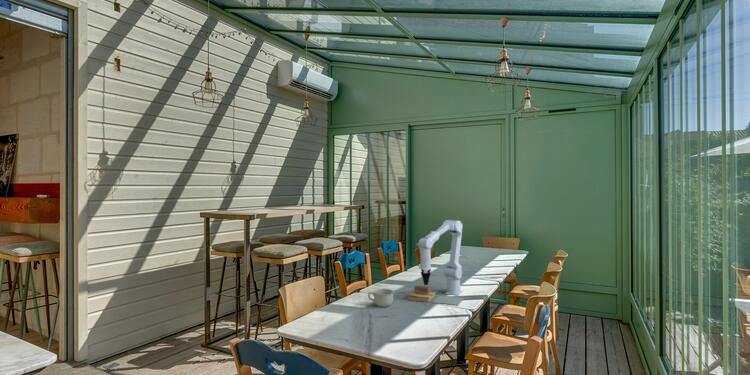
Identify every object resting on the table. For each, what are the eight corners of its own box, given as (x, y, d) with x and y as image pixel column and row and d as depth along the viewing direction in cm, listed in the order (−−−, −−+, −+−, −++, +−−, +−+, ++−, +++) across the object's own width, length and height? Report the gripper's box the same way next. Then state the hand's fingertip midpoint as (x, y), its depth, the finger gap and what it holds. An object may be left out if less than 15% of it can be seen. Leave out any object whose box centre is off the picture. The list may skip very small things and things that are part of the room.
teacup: (394, 303, 219) (394, 288, 219) (393, 308, 208) (392, 293, 208) (369, 302, 220) (369, 288, 220) (367, 308, 209) (366, 293, 209)
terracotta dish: (415, 294, 235) (415, 291, 235) (434, 296, 230) (434, 293, 230) (408, 299, 224) (408, 296, 224) (428, 302, 219) (428, 298, 219)
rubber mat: (439, 296, 230) (439, 295, 230) (463, 299, 224) (463, 298, 224) (432, 303, 217) (432, 302, 217) (457, 305, 211) (457, 304, 211)
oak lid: (414, 291, 236) (414, 283, 236) (435, 293, 230) (435, 285, 230) (407, 296, 224) (407, 288, 224) (429, 298, 218) (429, 290, 218)
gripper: (418, 257, 231) (419, 280, 231) (418, 261, 217) (418, 286, 217) (430, 257, 230) (431, 280, 230) (431, 261, 216) (431, 286, 216)
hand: (426, 283), depth 223 cm, fingers open, 7 cm apart
